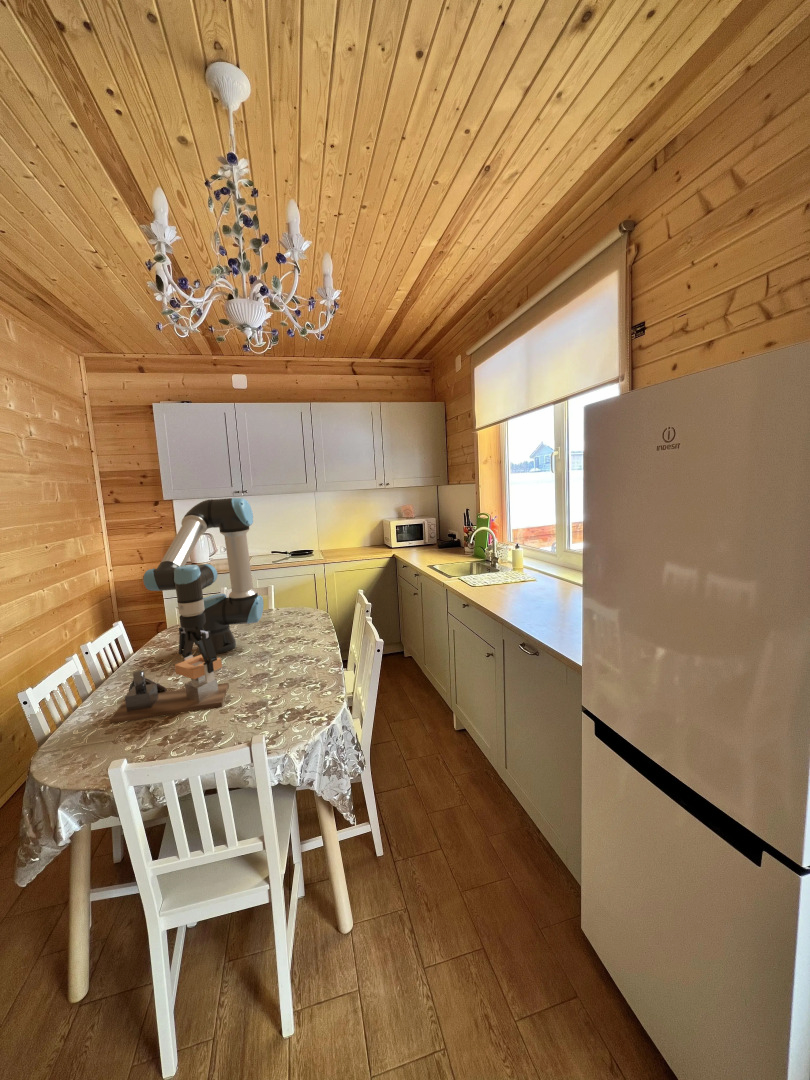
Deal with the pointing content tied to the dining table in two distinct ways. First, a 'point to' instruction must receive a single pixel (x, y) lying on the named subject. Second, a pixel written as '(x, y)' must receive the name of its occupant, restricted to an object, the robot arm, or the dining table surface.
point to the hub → (200, 687)
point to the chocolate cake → (149, 681)
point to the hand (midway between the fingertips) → (200, 678)
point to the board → (171, 705)
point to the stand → (141, 693)
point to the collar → (195, 667)
